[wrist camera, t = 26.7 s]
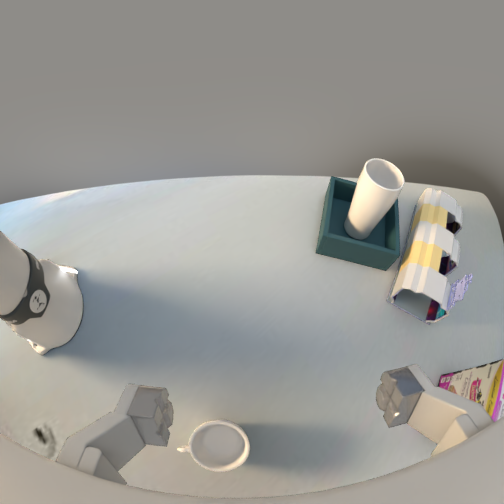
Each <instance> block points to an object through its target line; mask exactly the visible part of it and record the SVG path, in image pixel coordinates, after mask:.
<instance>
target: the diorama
mask: <svg viewBox="0 0 504 504" xmlns="http://www.w3.org/2000/svg"><path fill="white" fill-rule="evenodd" d="M462 221H463V211H462V208H461V207H460V206H459V205H457V200H456V199H454V198H453V197H451V196H450V195H448V194H447V193H445V192H444V191H442V190H440V191H436V190H434V189H433V188H426V189H425V191H424V192H423V194H422V195H421V197H420V198H419V200H418V203H417V206H416V205H415V209H414V213H413V217H412V221H411V225H410V229H409V233H408V237H407V240H406V244H405V247H404V251H403V254H402V257H401V261H400V264H399V267H398V270H397V273H396V276H395V279H394V282H393V285H392V288H391V291H390V294H389V296H388V299H387V301H388V302H389V303H391V304H393V305H395V306H397V307H398V308H400V309H402V310H404V311H405V312H407V313H409V314H411V315H412V316H414V317H416V318H418V319H420V320H421V321H423V322H425V323H427V324H428V325H430V323H431V322H435V323H436V322H437V321H439V320H441V319H443V318H445V317H447V316H449V312H450V309H451V308H453V307H451V305H453V306H455V302H457V301H461V300H463V297H464V293H465V292H466V291H467V289H468V283H471V282H472V280H471V279H472V277H473V275H472V274H470V275H468V276H467V275H465V276H464V277H463V279H462V280H461V281H460V282H459V279H458V281H456V282H455V284H454V283H453V284H452V285H451V284H450V283H448V282H447V276H448V275H449V274H450V273H452V272H453V271H454V270H455V269H457V268H458V262H459V255H460V244H459V241H457V240H456V239H454V237H455V235H456V234H457V233H458V232H459V231H460V230H461V229H462ZM446 253H448V255H449V256H446ZM467 278H468V279H469V280H466V279H467ZM462 282H463V283H462ZM456 283H457V284H456ZM466 283H467V285H466ZM456 286H457V288H456ZM453 287H455V288H453ZM465 287H466V290H465ZM455 290H456V291H455ZM455 292H456V293H455ZM459 296H460V297H459ZM454 297H455V298H454ZM453 299H454V300H453ZM453 301H454V302H453ZM453 303H454V304H453Z"/></svg>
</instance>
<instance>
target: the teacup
mask: <svg viewBox="0 0 504 504" xmlns="http://www.w3.org/2000/svg"><path fill="white" fill-rule="evenodd" d="M178 451H179V452H190V453H191V455H192V457H193V459H194V460H195V461H196V462H197V463H198V464H199V465H200V466H202V467H204V468H206V469H208V470H211V471H215V472H227V471H231V470H234V469H236V468H238V467H239V466H241V465H242V464H243V463H244V462H245V461H246V459H247V458H248V455H249V452H250V444H249V440H248V438H247V435H246V433H245V431H244V430H243V429H242V428H241V427H240V426H238V425H236V424H235V423H233V422H231V421H229V420H225V419H219V420H213V421H208V422H205V423H203V424H201V425H200V426H199V427H197V428H196V429H195V431H194V432H193V433H192V435H191V437H190V440H189V445H186V446H181V447H179V448H178Z"/></svg>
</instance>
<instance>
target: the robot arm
mask: <svg viewBox="0 0 504 504" xmlns="http://www.w3.org/2000/svg"><path fill="white" fill-rule="evenodd" d="M77 273H78V271H76V269H75V268H73V267H71V266H63V265H56V264H55V263H53V262H52V261H51V260H49V259H47V260H43V259H36V258H35V257H34V256H33V255H32V254H31V253H29V252H27V251H26V250H24V249H20V248H19V247H18V246H17V245H15V244H14V243H13V242H12V241H11V240H10V239H9V238H8V237H7V236H6V235H5V234H3V233H2V232H1V231H0V318H1V319H2V320H4V321H5V322H6V323H7V324H8V325H9V326H10V327H12V330H13V331H14V332H15V333H16V334H17V335H18V336H20V337H22V338H24V339H26V340H27V341H28V342H29V343H30V345H31V346H32V347H33V348H34V350H35V351H36V352H37V353H39V354H41V355H43V354H45V353H46V352H47V351H49V350H50V349H51V348H55V347H59V346H62V345H64V344H65V343H67V342H68V341H69V340H70V339H71V338H72V337H73V336H74V334H75V333H76V331H77V329H78V327H79V325H80V322H81V318H82V313H83V299H82V294H81V291H80V289H79V286H78V283H77ZM37 345H38V346H37ZM380 380H381V382H382V384H381V385H380V386H379V387H378V388H377V392H376V401H377V405H378V407H379V409H381V410H383V411H384V415H383V417H384V419H385V421H386V423H387V425H388V427H389V428H390V427H394V426H398V425H401V424H405V423H407V424H408V425H410V426H411V427H412V428H414V429H415V430H417V431H418V432H420V433H421V434H423V435H424V436H426V437H427V438H429V439H430V440H432V441H433V442H435V443H436V444H438V445H437V446H436V448H435V449H434V450H433V452H432V453H431V457H430V458H428V459H426V460H424V461H421V462H419V463H416V464H414V465H411V466H409V467H406V468H403V469H401V470H398V471H395V472H392V473H389V474H386V475H383V476H380V477H377V478H373V479H370V480H366V481H363V482H359V483H355V484H351V485H347V486H343V487H338V488H333V489H328V490H323V491H317V492H311V493H304V494H296V495H288V496H277V497H262V498H213V497H198V496H187V495H179V494H171V493H164V492H158V491H152V490H147V489H142V488H137V487H133V486H128V485H126V484H127V482H126V481H125V480H124V478H123V477H122V476H121V475H120V474H119V473H118V471H119V470H120V469H121V468H122V467H123V466H124V465H125V464H126V463H127V462H129V461H130V460H131V459H132V458H133V457H134V456H135V455H136V454H137V453H138V452H139V451H140V450H141V449H143V448H144V447H145V446H146V445H145V444H148V445H156V446H166V447H167V444H168V440H169V436H170V432H169V430H168V428H169V427H170V426H171V425H172V423H173V414H174V412H173V406H172V403H171V402H170V401H169V400H168V396H169V394H168V391H167V389H166V388H162V387H153V386H144V385H135V384H128V385H126V387H125V389H124V391H123V393H122V395H121V397H120V400H119V402H118V404H117V406H116V408H115V410H114V412H109V413H108V414H106V415H104V416H103V417H101V418H100V419H98V420H96V421H95V422H93V423H92V424H90V425H88V426H87V427H85V428H83V429H82V430H80V431H78V432H77V433H75V434H73V435H71V436H70V437H68V438H67V439H66V441H65V443H64V445H63V447H62V449H61V451H60V453H59V455H58V457H57V459H56V461H53V460H51V459H49V458H46V457H44V456H42V455H40V454H38V453H36V452H34V451H32V450H30V449H28V448H26V447H24V446H22V445H20V444H19V443H17V442H15V441H13V440H11V439H10V438H8V437H6V436H5V435H3V434H1V433H0V504H504V416H503V417H501V418H500V419H498V420H497V421H495V422H494V421H493V419H492V418H491V417H490V415H489V414H488V413H487V412H486V410H485V409H484V408H483V406H482V405H481V404H479V403H477V402H474V401H472V400H469V399H467V398H464V397H462V396H460V395H457V394H455V393H452V392H450V391H448V390H445V389H443V388H440V387H435V386H434V385H433V383H432V382H431V381H430V380H429V378H428V377H427V376H426V374H425V373H424V372H423V370H422V369H421V368H420V367H419V365H417V364H413V365H410V366H406V367H402V368H398V369H394V370H390V371H386V372H384V373H383V374H382V376H381V379H380Z"/></svg>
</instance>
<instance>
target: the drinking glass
mask: <svg viewBox="0 0 504 504" xmlns="http://www.w3.org/2000/svg"><path fill="white" fill-rule="evenodd" d="M403 186H404V177H403V175H402V173H401V171H400V170H399V169H398V168H397V167H396V166H395V165H393V164H392V163H390V162H388V161H386V160H383V159H371V160H369V161H367V162H366V164H365V166H364V168H363V170H362V172H361V174H360V177H359V179H358V182H357V185H356V188H355V192H354V195H353V199H352V202H351V205H350V209H349V212H348V215H347V217H346V220H345V222H344V228H345V231H346V232H347V234H348V235H349V236H350V237H352V238H354V239H357V240H363V239H366V238H367V237H368V236H369V235H370V233H371V232H372V230H373V229H374V228H375V227H376V225H377V224H378V223H379V222H380V220H381V219H382V218H383V217H384V215H385V214H386V213H387V212H388V210H389V209H390V208H391V207H392V205H393V204H394V202H395V201H396V199H397V198H398V196H399V194H400V192H401V190H402V188H403Z"/></svg>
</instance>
